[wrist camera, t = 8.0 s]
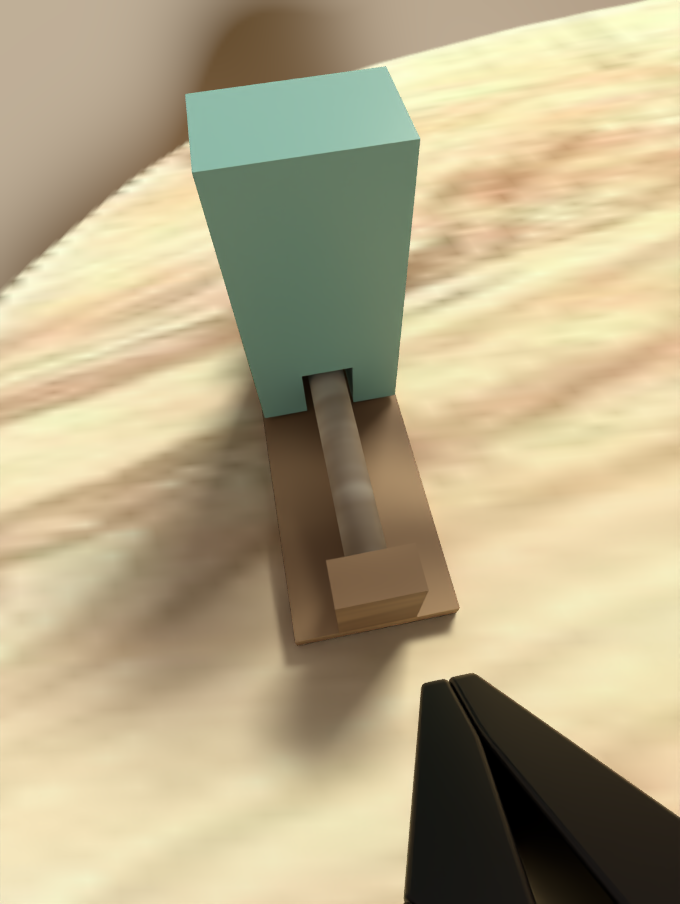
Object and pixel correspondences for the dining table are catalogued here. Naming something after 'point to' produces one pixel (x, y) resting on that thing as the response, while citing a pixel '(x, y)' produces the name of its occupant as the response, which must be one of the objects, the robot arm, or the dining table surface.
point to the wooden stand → (353, 516)
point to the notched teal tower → (310, 225)
